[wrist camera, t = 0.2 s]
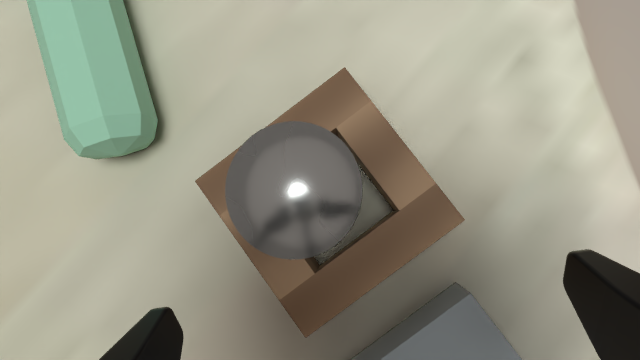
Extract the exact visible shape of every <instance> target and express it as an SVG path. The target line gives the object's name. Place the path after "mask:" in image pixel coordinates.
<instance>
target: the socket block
mask: <svg viewBox="0 0 640 360" xmlns="http://www.w3.org/2000/svg"><path fill="white" fill-rule="evenodd" d="M351 360H522V359H521V358H520V357H519V355H518V354H517V353H516V351H515V350H514V349H513V347H512V346H511V345H510V344H509V342H508V341H507V340H506V338H505V337H504V336H503V334H502V333H501V332H500V331H499V329H498V328H497V327H496V325H495V324H494V323H493V321H492V320H491V319H490V318H489V316H488V315H487V314H486V312H485V311H484V310H483V308H482V307H481V306H480V305H479V303H478V302H477V301H476V299H475V298H474V297H473V295H472V294H471V293H470V292H468V291H467V290H466V289H464V288H463V287H461V286H460V285H459V284H457V283H456V282H455V283H454V284H453V285H451V286H450V287H449V288H447V289H446V290H445V291H443V292H442V293H440V294H439V295H438V296H436V297H435V298H434V299H432V300H431V301H430V302H428V303H427V304H426V305H424V306H423V307H421V308H420V309H419V310H417V311H416V312H415V313H413V314H412V315H411V316H409V317H408V318H406V319H405V320H404V321H402V322H401V323H400V324H398V325H397V326H396V327H394V328H393V329H392V330H390V331H389V332H387V333H386V334H385V335H383V336H382V337H381V338H379V339H378V340H377V341H375V342H374V343H373V344H371V345H370V346H368V347H367V348H366V349H364V350H363V351H362V352H360V353H359V354H358V355H356V356H355V357H354V358H352V359H351Z"/></svg>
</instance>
